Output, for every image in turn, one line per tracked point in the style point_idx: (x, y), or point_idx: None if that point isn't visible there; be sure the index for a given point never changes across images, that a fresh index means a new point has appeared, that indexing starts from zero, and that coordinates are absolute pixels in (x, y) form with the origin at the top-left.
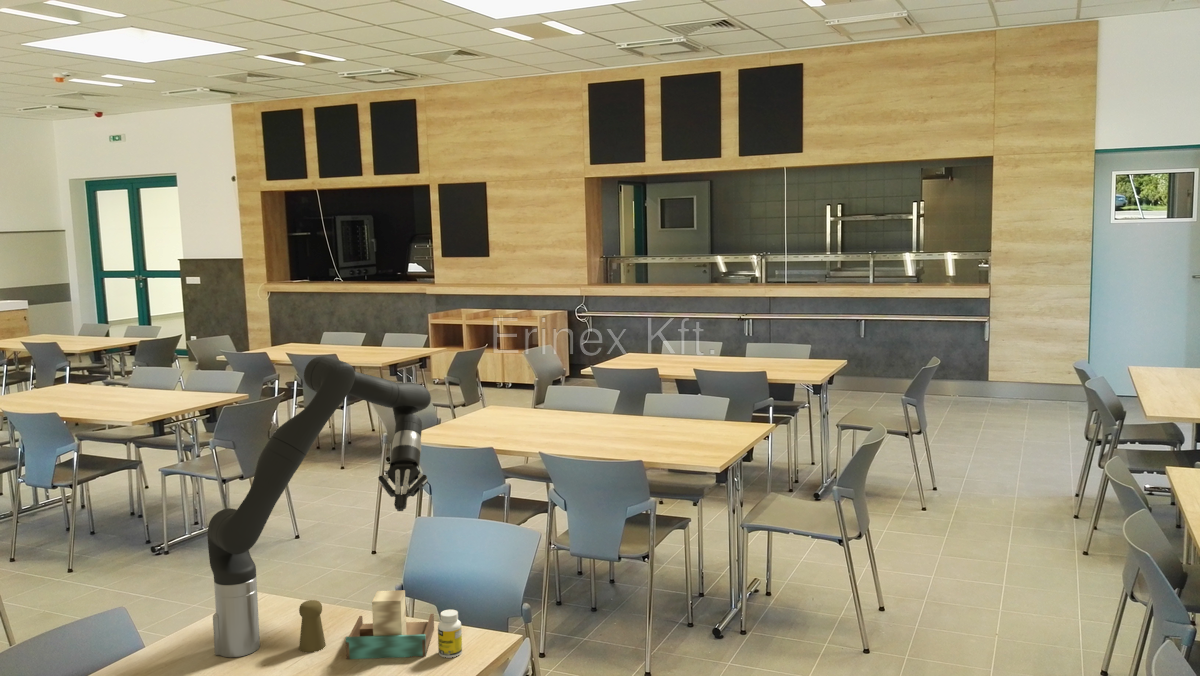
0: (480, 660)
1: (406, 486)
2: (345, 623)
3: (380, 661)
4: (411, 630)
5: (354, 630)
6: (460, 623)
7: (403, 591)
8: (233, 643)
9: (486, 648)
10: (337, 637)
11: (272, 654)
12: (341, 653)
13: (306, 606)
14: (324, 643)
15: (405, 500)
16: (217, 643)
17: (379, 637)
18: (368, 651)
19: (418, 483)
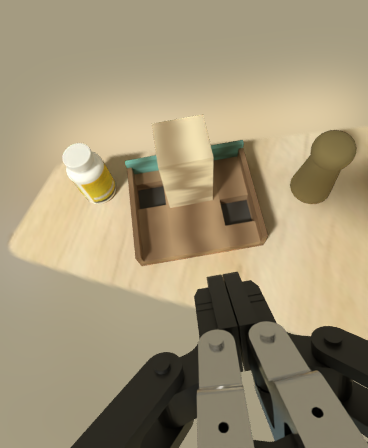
0: (58, 176)
1: (209, 386)
2: (306, 276)
3: None
4: (167, 224)
5: (248, 180)
6: (66, 167)
7: (159, 161)
8: None
9: (52, 210)
10: (289, 221)
11: (355, 159)
12: (255, 173)
13: (335, 130)
14: (292, 186)
15: (199, 314)
16: None
17: None
18: None
19: (97, 436)
